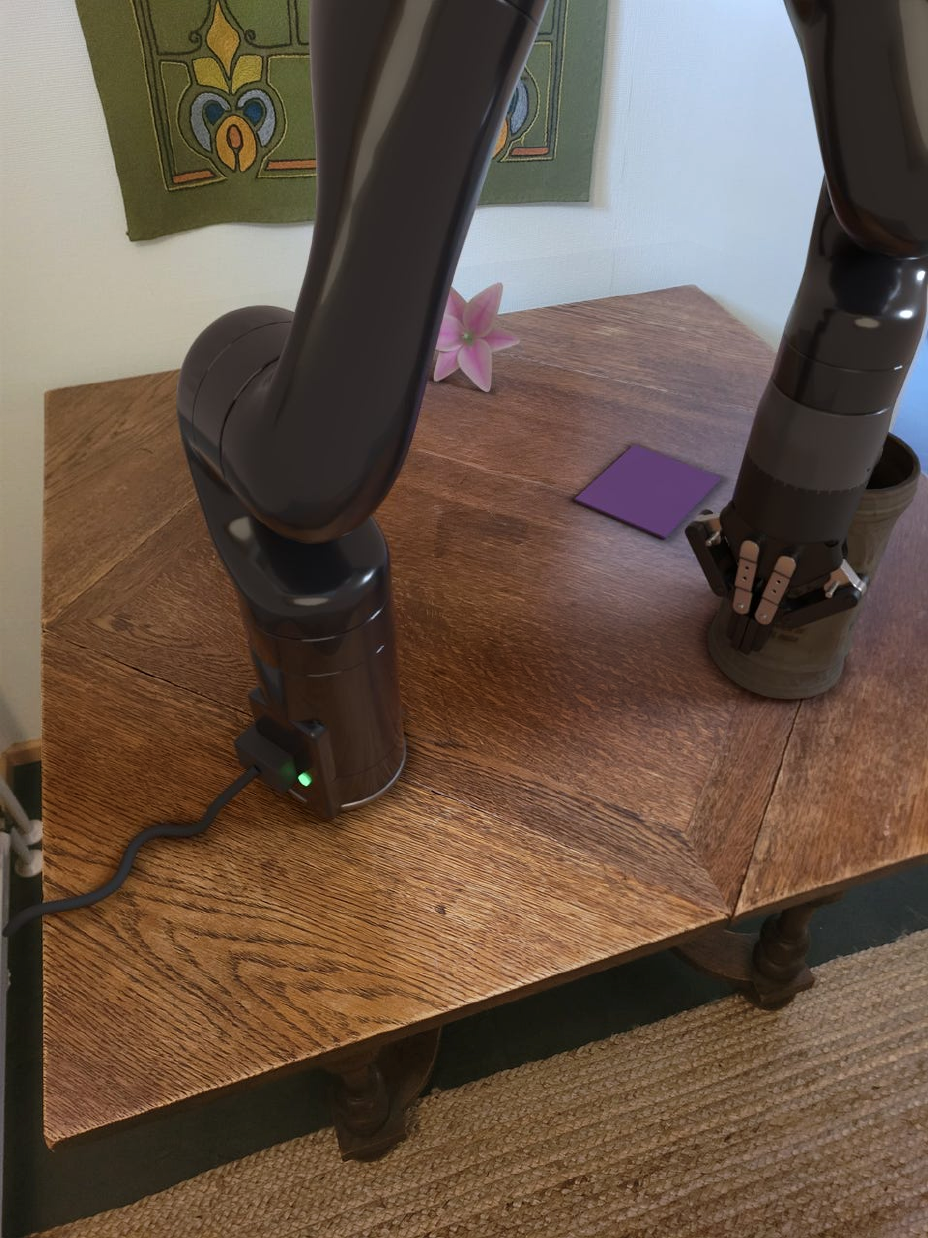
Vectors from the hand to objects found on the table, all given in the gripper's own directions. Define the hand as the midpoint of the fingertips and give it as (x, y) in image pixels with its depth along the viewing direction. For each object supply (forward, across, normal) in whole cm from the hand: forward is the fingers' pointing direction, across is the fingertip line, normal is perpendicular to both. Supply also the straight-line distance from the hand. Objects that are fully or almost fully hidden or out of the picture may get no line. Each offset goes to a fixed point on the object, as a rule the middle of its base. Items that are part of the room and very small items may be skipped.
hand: (744, 645), depth 66 cm
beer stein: (+5, 0, +8) cm, 10 cm away
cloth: (+5, -18, +20) cm, 27 cm away
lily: (+5, -47, +27) cm, 55 cm away
